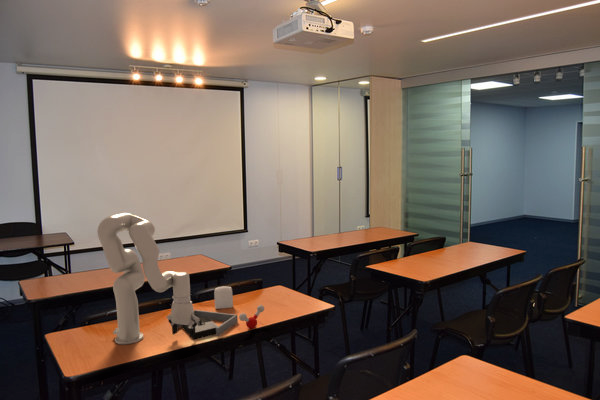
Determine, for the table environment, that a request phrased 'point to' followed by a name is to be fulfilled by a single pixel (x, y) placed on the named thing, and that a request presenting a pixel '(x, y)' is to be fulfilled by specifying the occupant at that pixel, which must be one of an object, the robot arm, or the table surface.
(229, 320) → the grey low wall frame
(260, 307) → the molecular model
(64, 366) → the table surface
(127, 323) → the robot arm
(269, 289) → the table surface
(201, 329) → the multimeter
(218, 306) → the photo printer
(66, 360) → the table surface
